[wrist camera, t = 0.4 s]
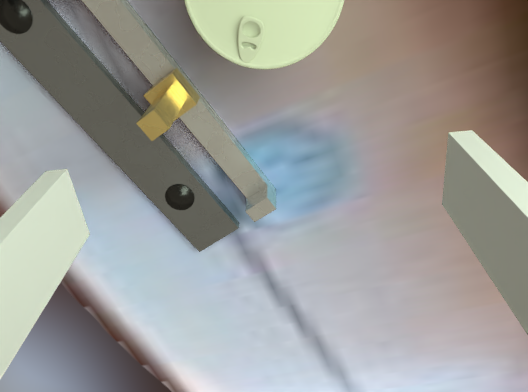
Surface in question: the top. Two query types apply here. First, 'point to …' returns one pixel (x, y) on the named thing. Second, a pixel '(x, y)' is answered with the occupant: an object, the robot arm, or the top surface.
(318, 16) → the can
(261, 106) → the top surface
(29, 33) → the hole plate
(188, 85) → the slider
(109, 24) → the rail
